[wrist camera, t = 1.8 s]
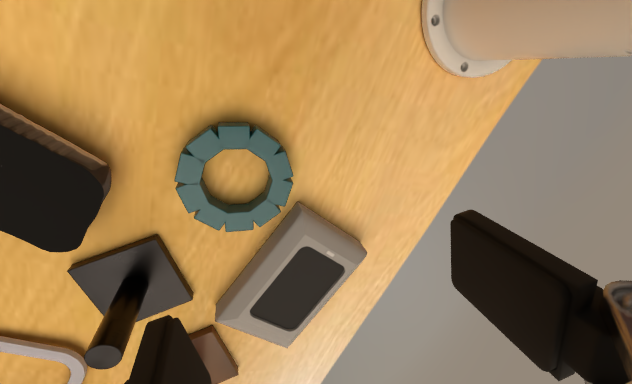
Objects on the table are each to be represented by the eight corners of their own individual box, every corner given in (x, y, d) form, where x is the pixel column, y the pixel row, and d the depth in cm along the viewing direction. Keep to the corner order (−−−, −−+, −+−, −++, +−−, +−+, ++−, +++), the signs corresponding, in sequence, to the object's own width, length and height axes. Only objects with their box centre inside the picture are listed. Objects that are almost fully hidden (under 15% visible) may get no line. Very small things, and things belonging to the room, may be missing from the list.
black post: (157, 233, 29) (129, 297, 21) (193, 293, 32) (181, 368, 24) (71, 264, 28) (7, 344, 20) (118, 323, 31) (79, 411, 23)
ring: (268, 106, 27) (271, 108, 25) (300, 202, 31) (304, 210, 30) (158, 141, 26) (153, 146, 24) (207, 236, 30) (206, 247, 28)
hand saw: (-253, 412, 24) (-238, 315, 22) (-200, 376, 27) (-182, 287, 25) (167, 449, 35) (202, 388, 33) (173, 422, 38) (205, 364, 36)
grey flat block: (214, 330, 30) (305, 217, 28) (216, 304, 33) (297, 201, 31) (288, 357, 34) (373, 259, 32) (283, 331, 38) (359, 242, 35)
